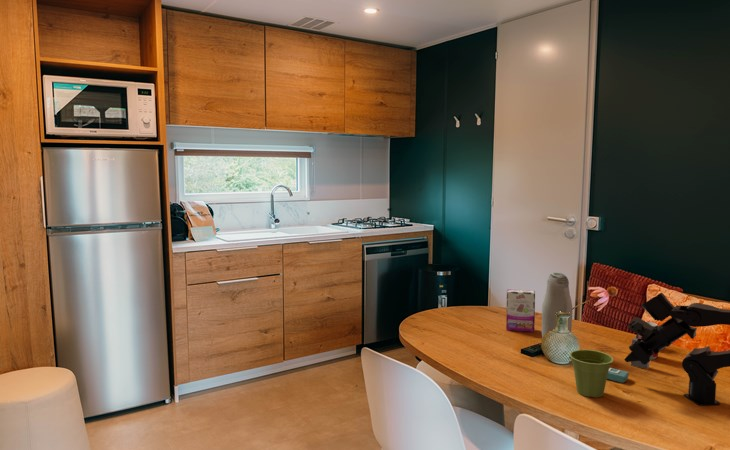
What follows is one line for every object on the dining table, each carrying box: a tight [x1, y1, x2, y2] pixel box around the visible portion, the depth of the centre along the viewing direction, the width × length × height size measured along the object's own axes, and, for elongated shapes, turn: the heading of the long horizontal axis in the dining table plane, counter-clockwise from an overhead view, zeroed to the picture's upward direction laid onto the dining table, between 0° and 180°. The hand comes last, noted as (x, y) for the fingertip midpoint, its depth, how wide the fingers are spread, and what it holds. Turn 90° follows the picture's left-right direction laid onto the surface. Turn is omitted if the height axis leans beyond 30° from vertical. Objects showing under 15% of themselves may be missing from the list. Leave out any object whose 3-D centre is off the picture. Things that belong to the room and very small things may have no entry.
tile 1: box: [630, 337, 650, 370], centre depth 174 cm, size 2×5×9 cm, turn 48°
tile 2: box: [607, 367, 629, 384], centre depth 165 cm, size 2×5×9 cm
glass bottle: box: [541, 272, 573, 339], centre depth 191 cm, size 10×10×28 cm
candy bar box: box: [505, 288, 536, 333], centre depth 213 cm, size 11×5×16 cm, turn 73°
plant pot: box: [569, 349, 614, 398], centre depth 153 cm, size 12×12×11 cm
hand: (625, 360), depth 162 cm, fingers closed
